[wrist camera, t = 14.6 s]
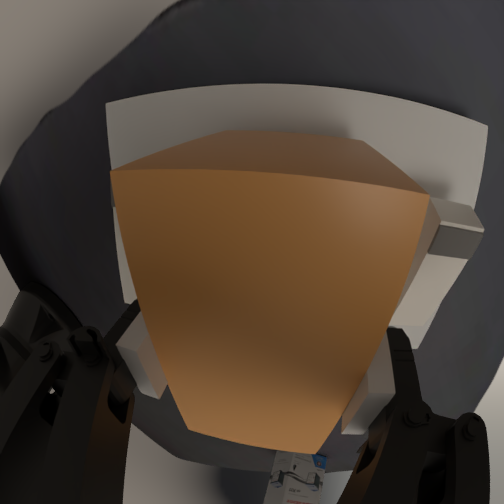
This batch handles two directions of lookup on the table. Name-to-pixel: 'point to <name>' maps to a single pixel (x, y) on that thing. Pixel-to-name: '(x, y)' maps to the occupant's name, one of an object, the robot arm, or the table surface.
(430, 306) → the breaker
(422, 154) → the panel
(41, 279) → the table surface
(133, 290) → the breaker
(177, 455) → the table surface
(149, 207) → the brown block
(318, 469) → the ink box
